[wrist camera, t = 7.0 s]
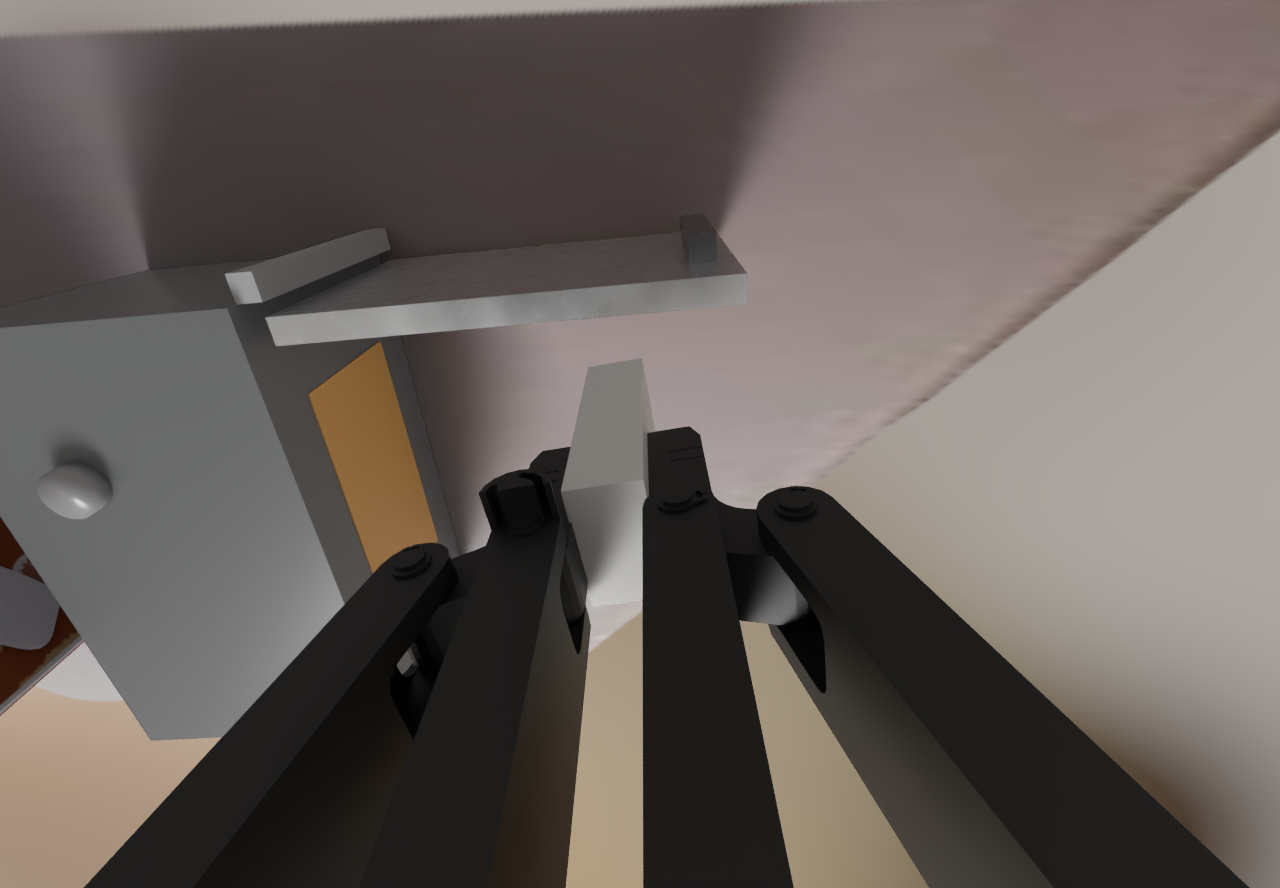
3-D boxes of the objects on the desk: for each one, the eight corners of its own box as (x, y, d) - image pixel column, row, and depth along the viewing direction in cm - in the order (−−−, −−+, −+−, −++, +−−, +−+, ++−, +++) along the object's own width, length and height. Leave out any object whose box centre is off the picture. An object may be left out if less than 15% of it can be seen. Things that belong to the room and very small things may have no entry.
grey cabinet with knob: (299, 610, 41) (163, 791, 29) (139, 249, 30) (-170, 314, 19) (485, 598, 40) (421, 780, 29) (388, 226, 30) (226, 279, 18)
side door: (714, 250, 29) (747, 304, 20) (396, 280, 30) (276, 346, 20) (713, 206, 29) (746, 240, 19) (385, 238, 29) (253, 287, 20)
